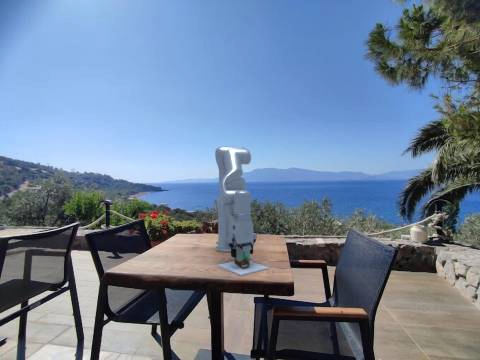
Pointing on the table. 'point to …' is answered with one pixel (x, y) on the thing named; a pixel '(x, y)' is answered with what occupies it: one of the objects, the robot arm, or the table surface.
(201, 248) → the table surface
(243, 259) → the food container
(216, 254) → the table surface
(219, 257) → the table surface
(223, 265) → the mat
